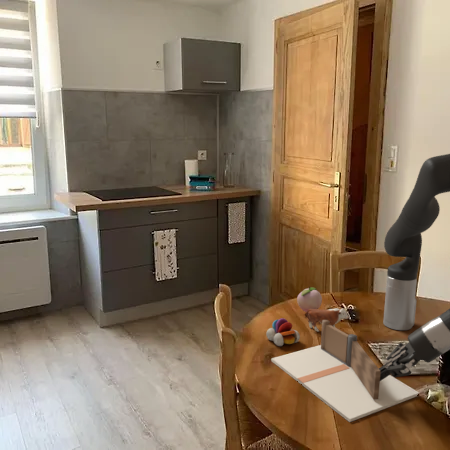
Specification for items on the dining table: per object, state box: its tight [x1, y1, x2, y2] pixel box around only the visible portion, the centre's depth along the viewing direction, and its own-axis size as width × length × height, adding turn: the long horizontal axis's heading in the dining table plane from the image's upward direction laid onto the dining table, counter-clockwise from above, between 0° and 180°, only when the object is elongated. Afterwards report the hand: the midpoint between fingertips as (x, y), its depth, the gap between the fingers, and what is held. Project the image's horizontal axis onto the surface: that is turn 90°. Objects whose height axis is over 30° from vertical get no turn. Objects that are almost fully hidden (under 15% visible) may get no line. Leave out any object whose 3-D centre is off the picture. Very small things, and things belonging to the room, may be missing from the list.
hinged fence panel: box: [351, 340, 381, 399], centre depth 122 cm, size 16×1×8 cm, turn 5°
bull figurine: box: [306, 307, 349, 333], centre depth 155 cm, size 4×13×8 cm, turn 79°
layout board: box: [270, 320, 420, 423], centre depth 127 cm, size 23×32×10 cm
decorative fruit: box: [296, 286, 323, 313], centre depth 169 cm, size 9×8×10 cm
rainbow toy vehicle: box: [265, 317, 301, 347], centre depth 148 cm, size 8×10×7 cm
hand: (375, 377), depth 119 cm, fingers closed
